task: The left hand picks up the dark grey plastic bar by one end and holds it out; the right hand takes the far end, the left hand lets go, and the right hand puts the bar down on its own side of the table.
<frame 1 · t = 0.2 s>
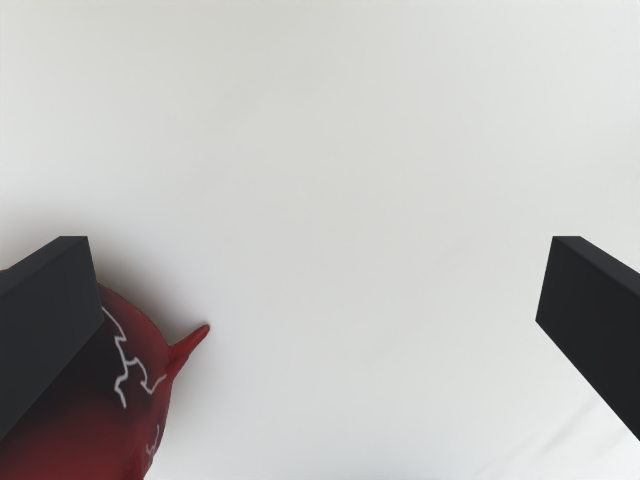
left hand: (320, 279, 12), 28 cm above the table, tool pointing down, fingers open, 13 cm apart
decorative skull: (85, 347, 46), on the table
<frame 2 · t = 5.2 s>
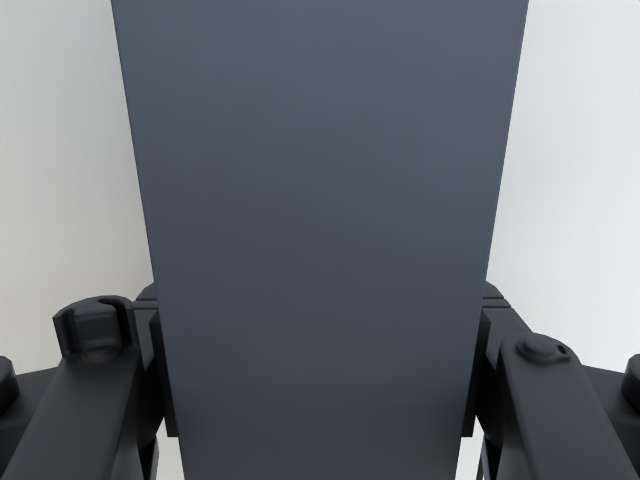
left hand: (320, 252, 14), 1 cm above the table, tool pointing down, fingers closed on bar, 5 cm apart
bar: (320, 14, 12), on the table, touching left hand
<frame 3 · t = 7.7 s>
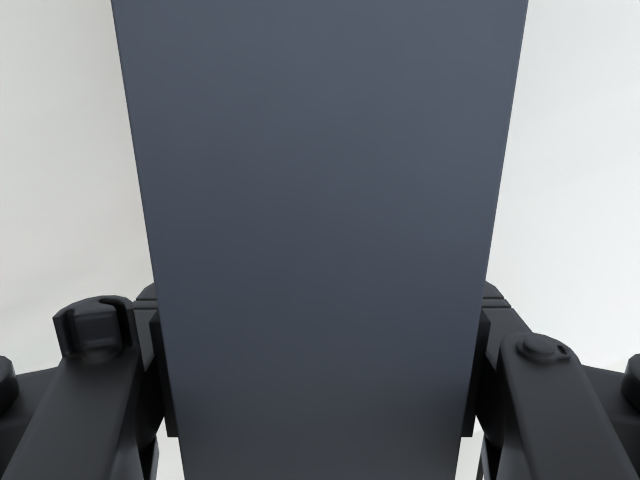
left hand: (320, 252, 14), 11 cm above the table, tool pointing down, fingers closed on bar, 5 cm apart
bar: (319, 13, 12), point 10 cm above the table, touching left hand
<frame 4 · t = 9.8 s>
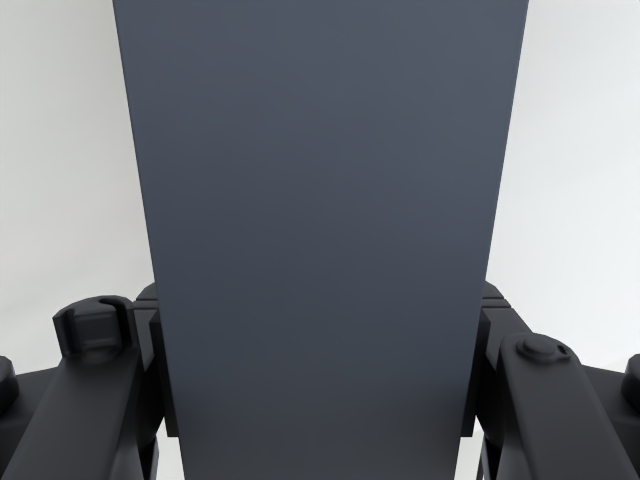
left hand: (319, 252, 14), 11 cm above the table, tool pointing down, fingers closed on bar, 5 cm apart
bar: (320, 13, 12), point 10 cm above the table, touching left hand, right hand
when the left hand's fingers open (11 cm above the table, at t = 10.6 s): bar stays where it is, held by the right hand.
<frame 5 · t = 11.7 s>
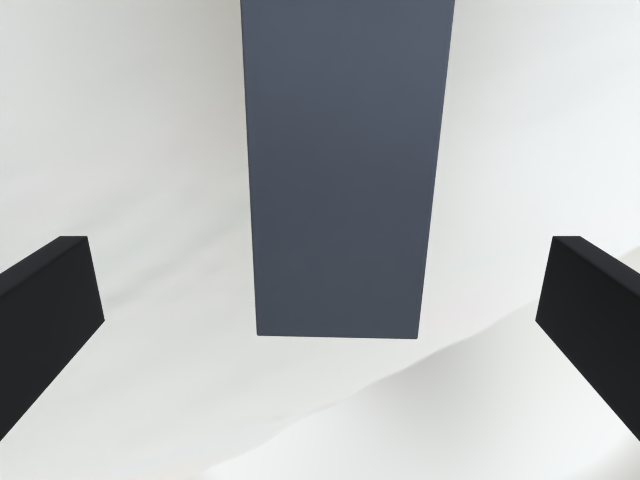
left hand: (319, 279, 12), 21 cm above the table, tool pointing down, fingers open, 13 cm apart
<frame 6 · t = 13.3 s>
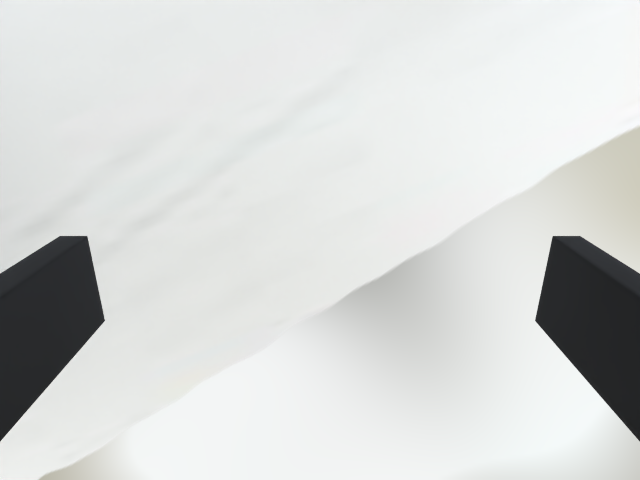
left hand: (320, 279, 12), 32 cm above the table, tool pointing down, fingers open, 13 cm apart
when the right hand's fingers open (4 cm above the table, at t = 17.2 s): bar drops 1 cm, on the table.
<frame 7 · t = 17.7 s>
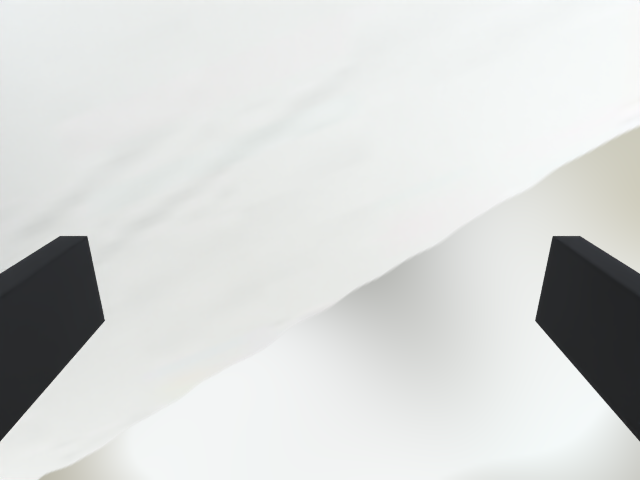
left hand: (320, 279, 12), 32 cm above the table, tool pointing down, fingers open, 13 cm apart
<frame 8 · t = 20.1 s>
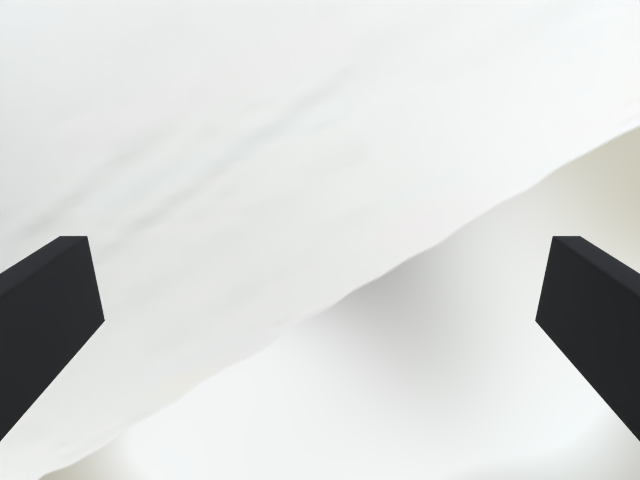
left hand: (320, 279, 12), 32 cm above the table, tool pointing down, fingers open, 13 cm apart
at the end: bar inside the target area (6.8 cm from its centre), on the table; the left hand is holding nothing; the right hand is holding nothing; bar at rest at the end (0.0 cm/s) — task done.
